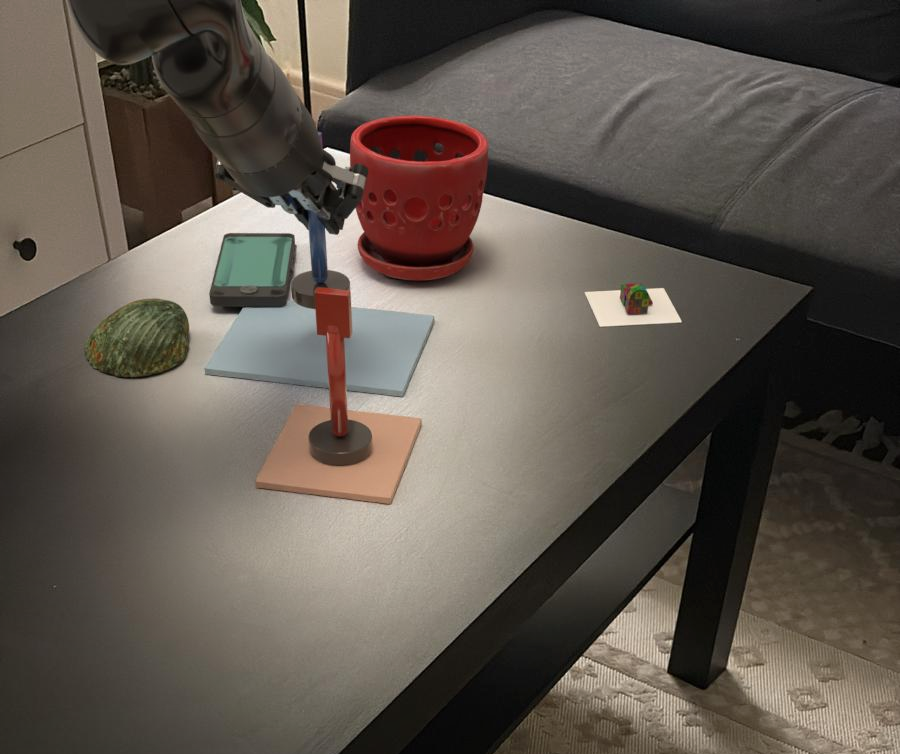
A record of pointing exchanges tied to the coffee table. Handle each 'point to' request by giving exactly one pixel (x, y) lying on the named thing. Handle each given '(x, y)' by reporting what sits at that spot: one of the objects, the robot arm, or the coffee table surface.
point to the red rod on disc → (337, 386)
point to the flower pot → (419, 195)
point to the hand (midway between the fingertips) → (326, 221)
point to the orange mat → (358, 481)
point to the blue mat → (322, 348)
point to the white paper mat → (632, 306)
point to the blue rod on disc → (316, 266)
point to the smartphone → (253, 269)
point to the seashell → (140, 339)
